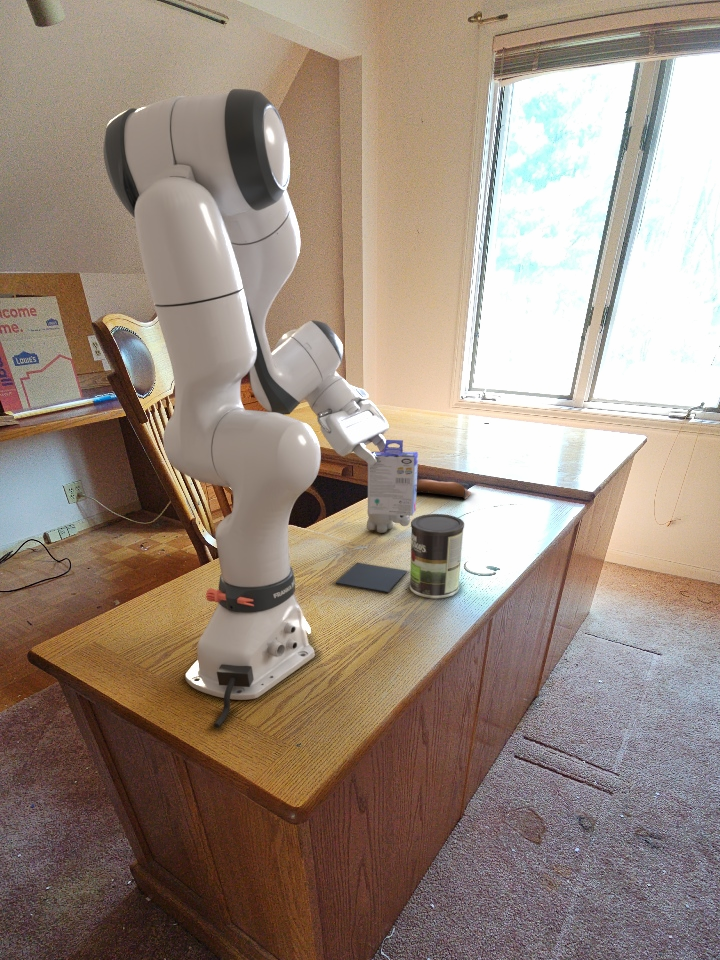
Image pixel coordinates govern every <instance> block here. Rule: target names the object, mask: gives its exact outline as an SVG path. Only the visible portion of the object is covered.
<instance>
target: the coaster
mask: <svg viewBox="0 0 720 960" xmlns="http://www.w3.org/2000/svg"><path fill="white" fill-rule="evenodd" d="M407 573H408V571H407V570H406V569H405V570H404V569H398V568H392V567H385V566H381V565H373V564H367V563H361V562H356V563H355V564H354V565H353V566H352V567H351V568H350V569H349V570H347V571H346V572H345V573H344V574H343V575H341V577H340V578H338V579H337V580H336V581H335V585H340V586H346V587H351V588H355V589H362V590H368V591H372V592H379V593H382V594H383V593H384V594H389V593H390V591H391V590H393V588H394V587H395V586H396V585H397V584H398V583H399V582H400V580H401V579H402V578H404V576H405V575H406V574H407Z"/></svg>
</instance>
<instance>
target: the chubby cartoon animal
mask: <svg viewBox="0 0 720 960" xmlns="http://www.w3.org/2000/svg"><path fill="white" fill-rule="evenodd" d="M366 511H367V512H366V513H367V517H368V518H367V521H366V529H367V530H369V531H375V530H376V531H377V532H378V533H379V534H383V533H386V532H387V531H388V530H392V529H393V528H394V523H395V524H400V526H402V527H408V526H409V525H410V524H411V516H405V515H386V514H368V509H367V510H366Z"/></svg>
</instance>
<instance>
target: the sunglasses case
mask: <svg viewBox="0 0 720 960" xmlns="http://www.w3.org/2000/svg"><path fill="white" fill-rule="evenodd" d="M416 493H424V494H425V493H429V494H435V495H443V496H453V497H457V498H458V497H459V498H463V500H467V499H468V498H469V497H470V496H471V494H472V492H471V491H470V490H468V489H467V488H465V486H464V485H463V484H460V483H458V482H455V481H443V480H442V481H437V480H434V479H433V480H432V479H425V478H424V479H417V492H416Z"/></svg>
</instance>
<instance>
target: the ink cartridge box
mask: <svg viewBox="0 0 720 960" xmlns="http://www.w3.org/2000/svg"><path fill="white" fill-rule="evenodd" d="M385 441H386V444H385V449H384V452H380V451H371V453H372V454H373V453H374V454H375V455H376V457H377V458H378V459H379V460H378V462H377V463H376V464H375V465H373V466H369V464H368V463H367V510H368V513H367V515H368V514H386V515H405V516H410V517H412V516H413V515H415V512H416V511H417V493H418V492H417V480H418V463H419V462H418V461H419V458H418V457H419V454H418V451H404V448H403V447H404V440H403V439H385ZM392 444H396V445H398V446H399V447H397V446H396V447H394V446H393V447H392V446H391V447H390V446H389V445H392Z"/></svg>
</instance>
